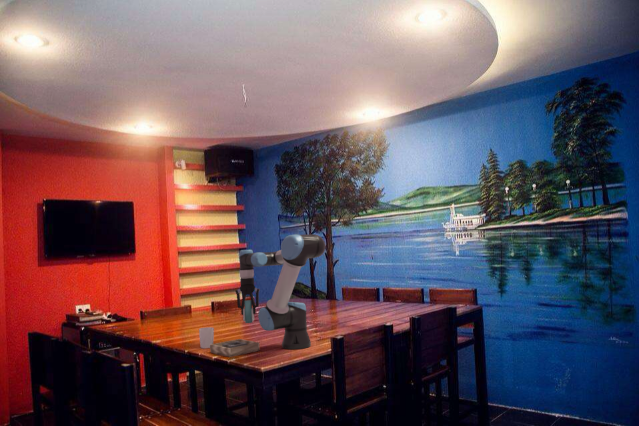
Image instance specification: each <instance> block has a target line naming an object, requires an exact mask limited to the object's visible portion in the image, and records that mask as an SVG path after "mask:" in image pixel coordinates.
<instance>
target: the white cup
mask: <svg viewBox="0 0 639 426" xmlns="http://www.w3.org/2000/svg"><path fill="white" fill-rule="evenodd" d="M198 333H199V336H198V337H199V343H200V345H199V346H200V349H210V344H214V337H215V335H214V334H215V328H214V327H210V326H209V327H200V328H199V329H198Z"/></svg>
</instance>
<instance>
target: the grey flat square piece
mask: <svg viewBox="0 0 639 426" xmlns="http://www.w3.org/2000/svg"><path fill="white" fill-rule="evenodd" d="M260 349H261V348H260V342H258V341H254V340H253V341H252V340H246V339H242V338H237V339H232V340H227V341H223V342H222V341H221V342H217V343H213V344H210V348H209V350H210V351H209V352H210V353H212V354H214V355H220V356H223V357H227V358H232V357H236V356H242V355H246V354H250V353H255V352H260Z"/></svg>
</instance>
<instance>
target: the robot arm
mask: <svg viewBox="0 0 639 426" xmlns="http://www.w3.org/2000/svg"><path fill="white" fill-rule="evenodd" d="M280 245H281V246H280V250H276V251H270V252H268V251H266V252H265V251H263V252H259V251H258V252H254V251H253V249H241V250H239V257H238V258H239V278H240V279H239V280H240V286H239V288H238V289H235V294H236V304H237V305H236V306H237V308H238V309H240V315H241V316H242V317H243V322H245V303H244V301H246V297H247V296H249V298H250V300H251V302H252V309H251V310H252V321H255V315H256V314H257V311H256V309H257V308H258V307H259V306H260V305H259V304H260V303H259V301H260V297H259V295H260V290H261V289H260V288H257V287H256V286H255V278H254V276H255V272H254V268H255V267H256V268H261V267H270V266H271V267H272V266H282V267H281V270H280V272H279V276H278V279H277V282H276V285H275V288H274V291H273V293H272V296H271V299H268V300H267V302H266V305H265V307H261V308H260V309H258V316H257V317H258V322H259V325H260V327H261V328H262V329H263V330H264V331H265V332H266V331H267V332H269V331H277V330H282V329H284V334H283V339H282V342H281V348H282V349H285V350H286V349H287V350H301V349H306V348H310V347H311V346H312V341H311V339H310V335H309V333H308V329H307V328H308V325H307V307H306V304H305V302H297V301H294V302H293V301H290V299H291V297H292V293H293V290H294V288H295V285H296V282H297V280H298V276H299V273H300V271H301V268H302V267H304V266H306V263H307V261H308V259H317V258H319V257H321V256H322V255H324V253H325V251H326V242H325V240H324V239H323V237H322V236H320V235H318V234H309V233H308V234H297V233H295V234H289V235H287V236H285V238H283V240H282V242H281V244H280ZM254 291H255V299H254V294H253V293H254ZM240 293H242V297H241V294H240ZM241 298H242V299H241Z"/></svg>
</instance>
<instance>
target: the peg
mask: <svg viewBox="0 0 639 426" xmlns="http://www.w3.org/2000/svg"><path fill="white" fill-rule="evenodd" d="M244 303H245V304H244V309H245V321H244V323H245V324H252V323H253V321H254V320H253V321H252V310H251V309H252V308H253V306H252V302H251V299H249V300H246V299H245V301H244Z"/></svg>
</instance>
